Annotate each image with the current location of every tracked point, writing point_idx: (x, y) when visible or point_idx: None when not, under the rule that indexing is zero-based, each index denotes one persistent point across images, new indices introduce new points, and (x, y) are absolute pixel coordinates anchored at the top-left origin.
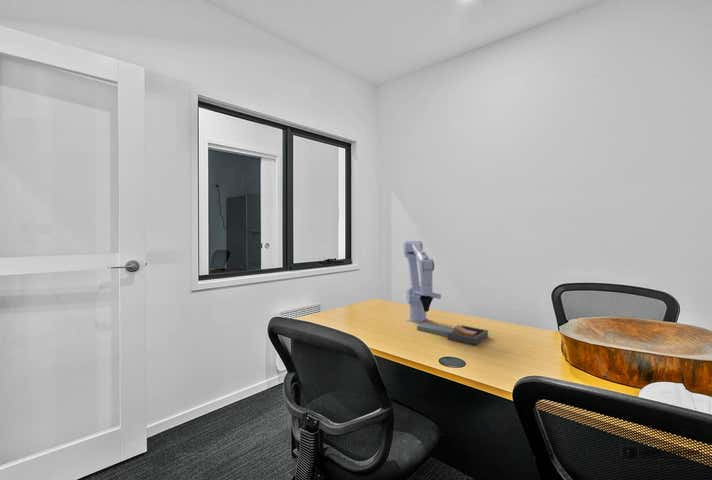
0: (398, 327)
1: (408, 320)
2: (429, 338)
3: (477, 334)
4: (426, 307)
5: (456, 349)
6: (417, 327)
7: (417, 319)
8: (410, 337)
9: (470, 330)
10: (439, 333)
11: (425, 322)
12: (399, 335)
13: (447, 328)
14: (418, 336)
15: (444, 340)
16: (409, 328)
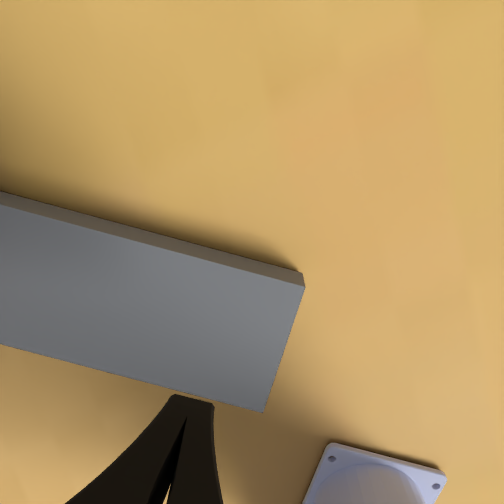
0: (482, 282)
1: (427, 469)
2: (135, 87)
3: None
4: (142, 437)
5: None
6: (299, 279)
7: (352, 481)
8: (306, 29)
9: None
10: (82, 218)
11: (257, 406)
12: (428, 41)
13: (32, 312)
14: (243, 99)
15: (5, 92)
16: (377, 292)
